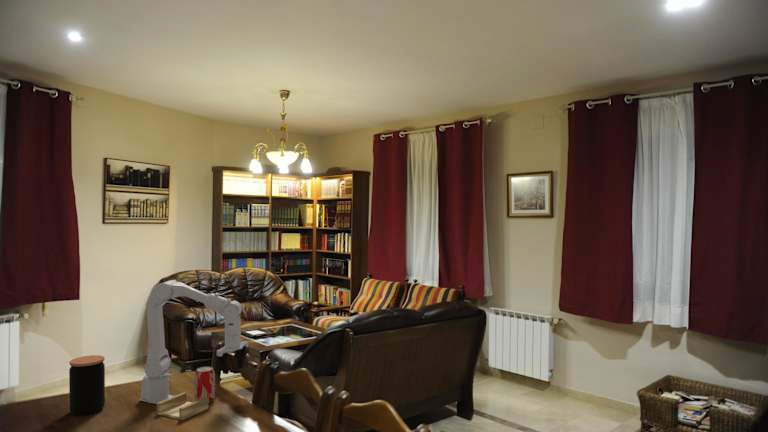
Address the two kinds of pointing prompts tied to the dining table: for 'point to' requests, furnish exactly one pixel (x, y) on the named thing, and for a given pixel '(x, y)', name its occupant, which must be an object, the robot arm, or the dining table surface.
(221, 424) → the dining table surface
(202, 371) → the soda can
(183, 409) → the cradle
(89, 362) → the coffee jar
